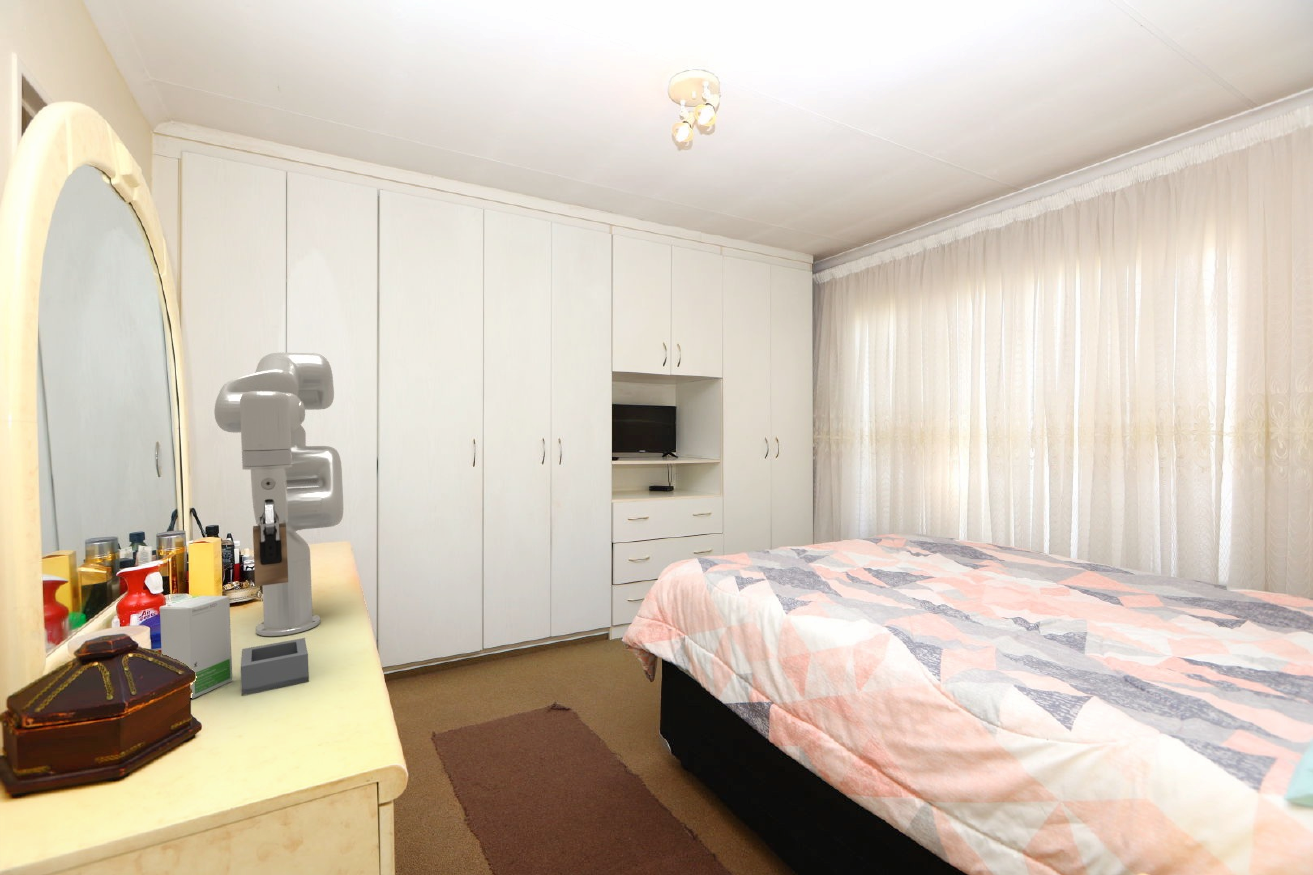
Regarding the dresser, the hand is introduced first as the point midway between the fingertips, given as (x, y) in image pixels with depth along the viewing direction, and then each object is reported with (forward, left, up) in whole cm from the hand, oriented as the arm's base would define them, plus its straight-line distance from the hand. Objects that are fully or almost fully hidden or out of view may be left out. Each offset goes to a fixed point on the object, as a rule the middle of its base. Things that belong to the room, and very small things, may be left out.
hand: (271, 559), depth 111 cm
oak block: (0, 0, -4) cm, 4 cm away
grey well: (0, 0, -22) cm, 22 cm away
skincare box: (-3, -11, -22) cm, 25 cm away
